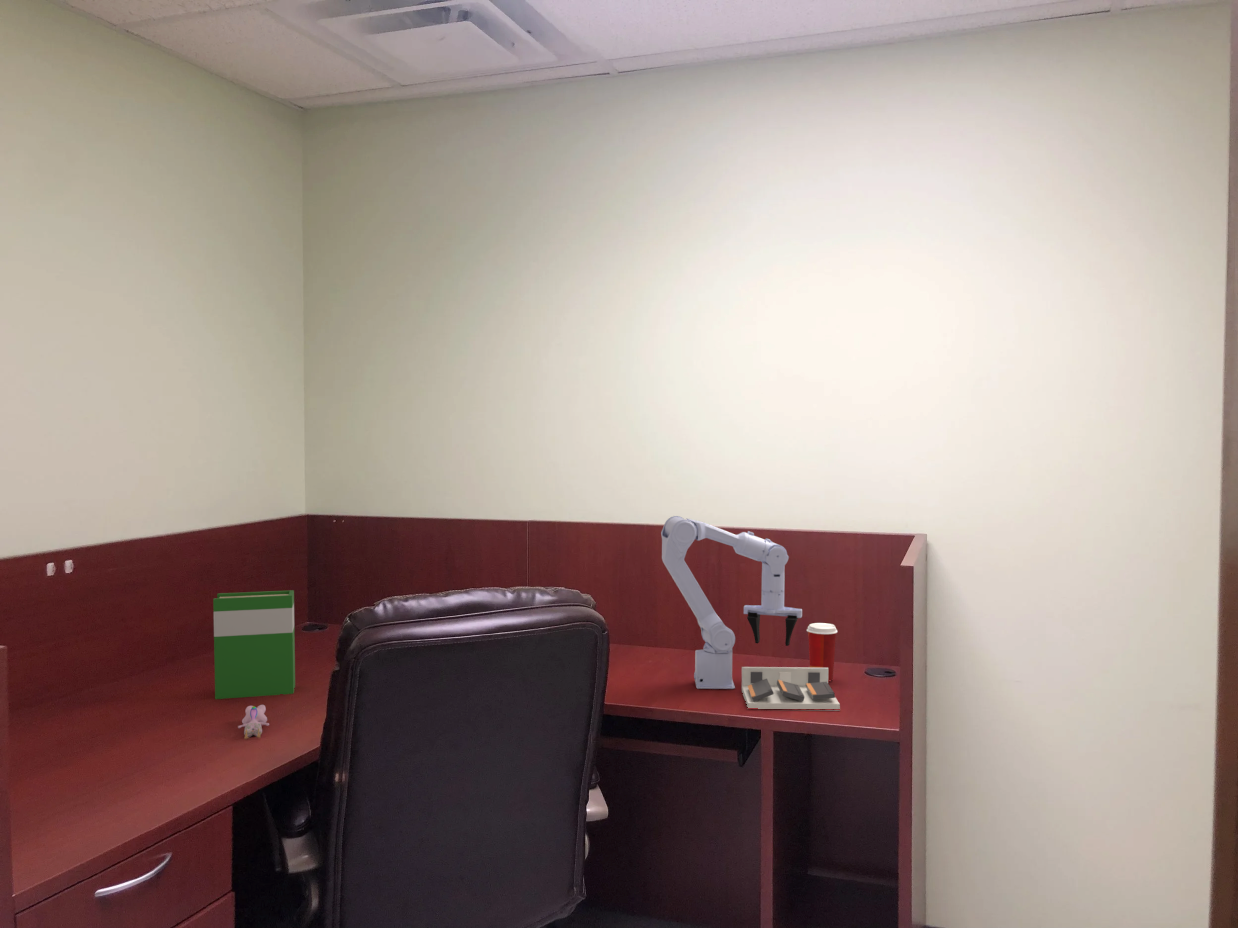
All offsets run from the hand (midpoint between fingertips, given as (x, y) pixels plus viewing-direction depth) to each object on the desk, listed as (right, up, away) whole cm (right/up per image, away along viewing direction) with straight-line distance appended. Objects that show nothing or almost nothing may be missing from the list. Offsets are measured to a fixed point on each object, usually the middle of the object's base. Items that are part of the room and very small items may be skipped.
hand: (772, 643), depth 245 cm
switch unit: (+2, -11, -16) cm, 19 cm away
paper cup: (+13, -10, +3) cm, 17 cm away
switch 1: (-5, -8, -16) cm, 19 cm away
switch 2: (+2, -8, -17) cm, 19 cm away
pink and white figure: (-117, -12, -37) cm, 123 cm away
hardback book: (-127, -10, -9) cm, 128 cm away
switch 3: (+9, -8, -17) cm, 20 cm away
